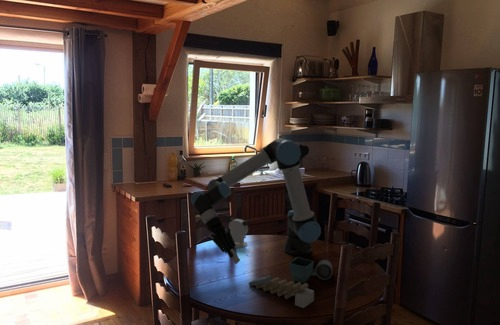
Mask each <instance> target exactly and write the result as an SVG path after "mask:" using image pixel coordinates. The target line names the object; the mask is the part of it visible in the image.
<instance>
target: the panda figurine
mask: <svg viewBox="0 0 500 325" xmlns="http://www.w3.org/2000/svg"><path fill="white" fill-rule="evenodd" d="M249 224H250V223H249V220H247V219H246V220H244V219H241V218H235V217H231V218H229V219H228V228H229V229H230V233H231V235H232V238H233V240H234V242H235V245H236V246H235V247H234V249H242V248H246V247H248V243H247V242H246V241H245V239H246V238H247V236H246V235H247V233H248V232H249V226H248V225H249Z"/></svg>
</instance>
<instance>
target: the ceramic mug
mask: <svg viewBox="0 0 500 325" xmlns="http://www.w3.org/2000/svg"><path fill="white" fill-rule="evenodd" d="M332 274H333V264H332V263H331V261H330V260H327V259H322V260H320V261H319V262H318V263H317V265H316V267H315V268H313V270H312V274H311V276H310V277H314V276H316V277H317V278H318V279H320V280H324V281H325V280H326V281H327V280H328V279H329V280H330V278H331V277H332Z"/></svg>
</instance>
